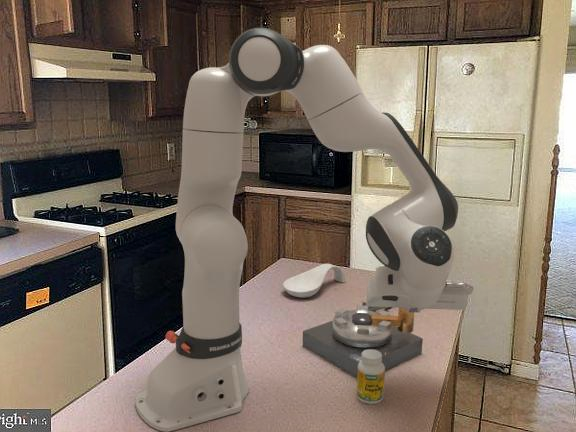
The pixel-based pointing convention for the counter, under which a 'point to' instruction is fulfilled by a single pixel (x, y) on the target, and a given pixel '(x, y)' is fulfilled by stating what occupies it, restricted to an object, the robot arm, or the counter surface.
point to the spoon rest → (311, 280)
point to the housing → (360, 348)
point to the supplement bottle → (370, 377)
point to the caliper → (373, 307)
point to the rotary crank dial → (369, 326)
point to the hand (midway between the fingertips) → (412, 309)
